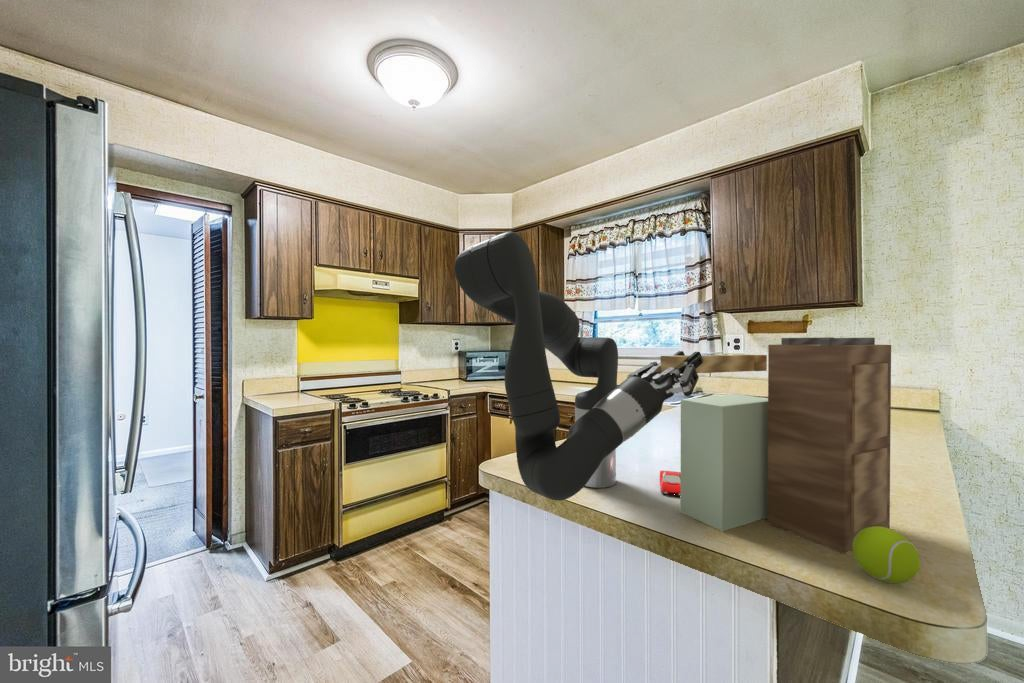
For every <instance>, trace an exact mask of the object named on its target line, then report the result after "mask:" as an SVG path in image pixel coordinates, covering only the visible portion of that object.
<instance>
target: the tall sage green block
mask: <svg viewBox="0 0 1024 683" xmlns="http://www.w3.org/2000/svg"><path fill="white" fill-rule="evenodd" d="M680 472H681V497H680V513H681V512H682V514H684V515H686V516H687V517H690V518H693V519H694V518H695V520H697V521H700V522H701V523H703V524H706V525H708V526H709V527H712V528H714V529H716V530H719V531H721V532H725V531H729V530H732V529H734V528H738V527H741V526H744V525H748V524H752V523H754V522H758V521H760V520H764V519H768V397H763V396H762V397H761V396H752V395H746V394H738V393H736V394H735V393H734V394H724V395H713V396H704V397H695V398H683V399H680ZM757 520H758V521H757ZM747 523H748V524H747Z"/></svg>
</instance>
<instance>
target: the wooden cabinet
mask: <svg viewBox="0 0 1024 683" xmlns="http://www.w3.org/2000/svg"><path fill="white" fill-rule="evenodd" d="M875 338H876V337H829V336H827V337H781V343H780V344H777V343H776V344H768V347H767V348H768V349H767V350H768V354H767V365H768V366H767V367H768V368H767V374H768V375H767V377H768V378H767V383H768V384H767V385H768V386H767V388H768V389H767V391H768V392H767V398H768V517H767V524H768V525H771V526H774V527H777V528H779V529H780V530H781V529H782V530H784V531H787V532H789V533H790V534H793V535H796V536H800V537H801V538H804V539H806V540H809V541H812V542H814V543H817V544H818V545H821V546H824V547H826V548H829V549H832V550H834V551H837V552H839V553H841V554H846V553H849V552H852V551H853V548H852V545H853V540H854V538H855V536H856V535H857V533H858V532H860V531H861V530H863V529H865V528H868V527H873V526H879V527H885V528H889V529H891V528H890V522H891V521H890V520H891V519H890V517H891V509H890V508H891V506H890V505H891V501H890V500H891V422H892V421H891V418H892V417H891V416H892V414H891V412H892V411H891V409H892V408H891V403H892V401H891V400H892V398H891V397H892V396H891V395H892V391H891V390H892V386H891V385H892V344H875V340H876V339H875Z"/></svg>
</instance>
